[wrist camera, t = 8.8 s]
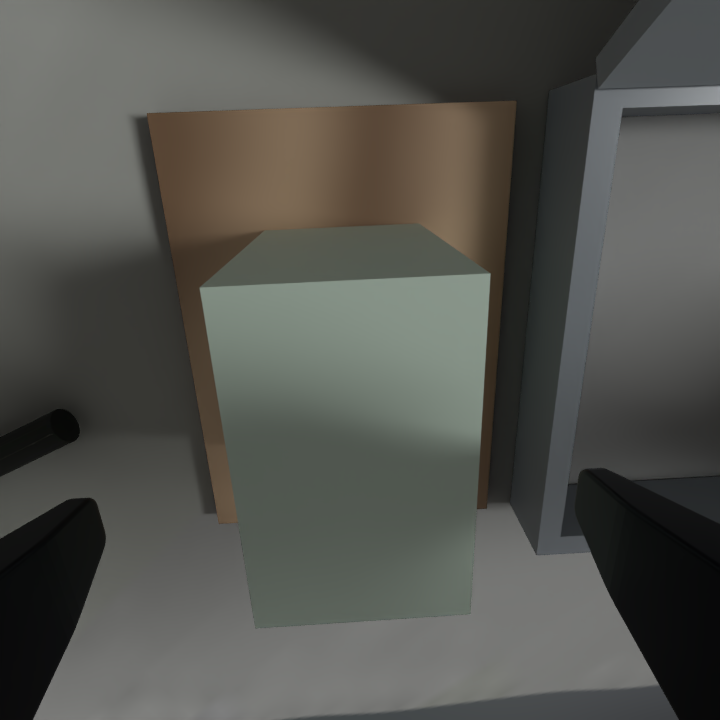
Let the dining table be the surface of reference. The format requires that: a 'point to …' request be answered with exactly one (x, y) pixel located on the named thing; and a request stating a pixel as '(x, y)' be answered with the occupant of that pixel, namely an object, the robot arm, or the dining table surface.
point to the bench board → (330, 206)
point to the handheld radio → (37, 439)
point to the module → (352, 419)
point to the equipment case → (596, 248)
